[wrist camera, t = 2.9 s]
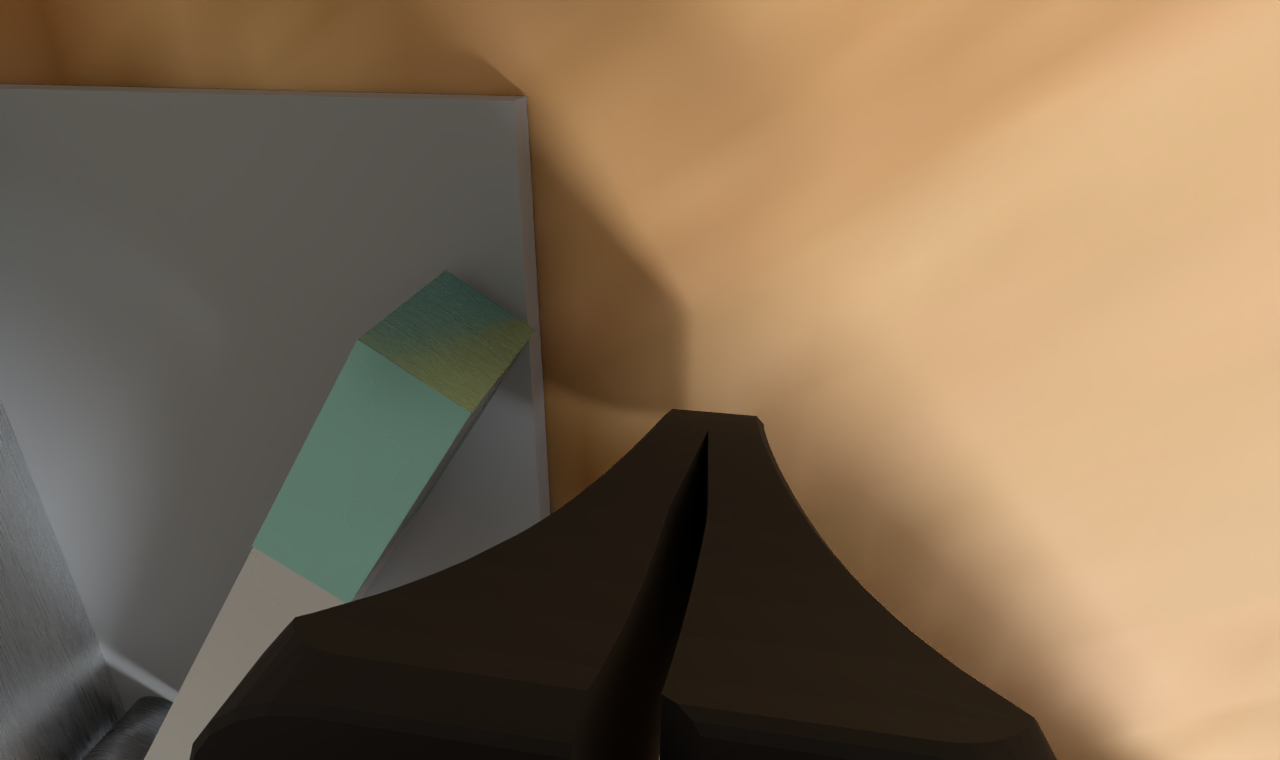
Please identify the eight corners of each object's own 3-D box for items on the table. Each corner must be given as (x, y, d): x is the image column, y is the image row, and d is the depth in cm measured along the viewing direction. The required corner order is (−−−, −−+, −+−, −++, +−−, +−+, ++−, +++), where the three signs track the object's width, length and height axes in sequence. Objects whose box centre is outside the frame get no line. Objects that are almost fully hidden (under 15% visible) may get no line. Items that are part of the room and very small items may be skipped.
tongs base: (334, 907, 22) (246, 1083, 18) (168, 874, 23) (52, 1037, 19) (100, 66, 12) (-183, 93, 9) (-175, 60, 13) (-537, 84, 9)
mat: (576, 965, 21) (570, 990, 20) (145, 880, 23) (129, 901, 22) (526, 96, 11) (513, 100, 11) (-211, 79, 13) (-253, 82, 13)
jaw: (260, 756, 18) (177, 873, 15) (197, 720, 18) (104, 834, 15) (535, 330, 12) (471, 412, 10) (445, 269, 12) (357, 339, 9)
